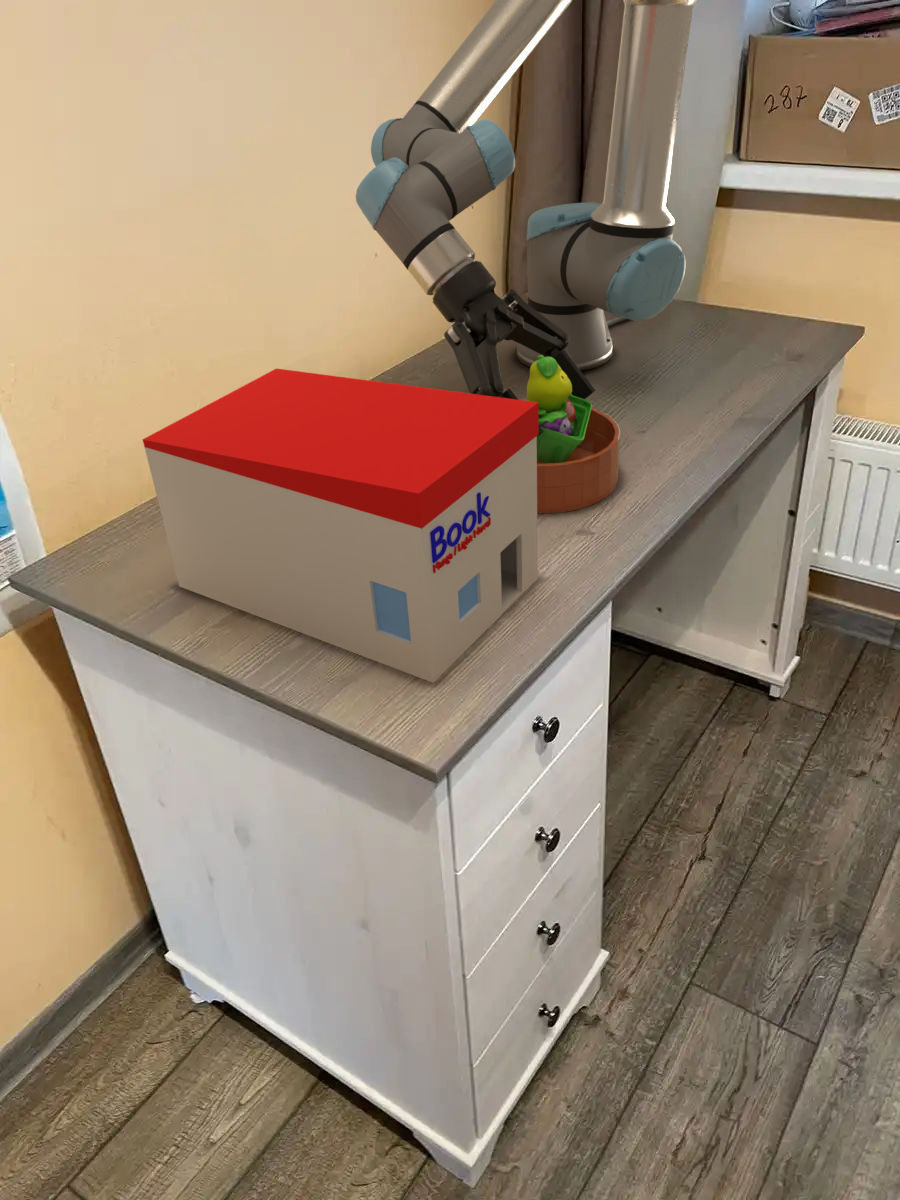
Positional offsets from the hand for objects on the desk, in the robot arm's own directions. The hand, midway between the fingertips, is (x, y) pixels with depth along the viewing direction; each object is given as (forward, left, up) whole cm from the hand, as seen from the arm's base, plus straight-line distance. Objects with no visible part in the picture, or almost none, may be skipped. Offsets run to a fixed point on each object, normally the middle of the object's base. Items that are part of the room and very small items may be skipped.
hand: (562, 417), depth 125 cm
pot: (+1, -2, -9) cm, 9 cm away
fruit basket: (+2, -2, -4) cm, 5 cm away
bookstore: (+32, +5, -9) cm, 34 cm away
